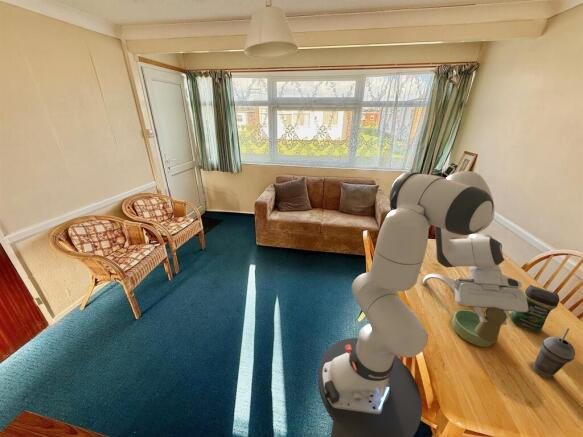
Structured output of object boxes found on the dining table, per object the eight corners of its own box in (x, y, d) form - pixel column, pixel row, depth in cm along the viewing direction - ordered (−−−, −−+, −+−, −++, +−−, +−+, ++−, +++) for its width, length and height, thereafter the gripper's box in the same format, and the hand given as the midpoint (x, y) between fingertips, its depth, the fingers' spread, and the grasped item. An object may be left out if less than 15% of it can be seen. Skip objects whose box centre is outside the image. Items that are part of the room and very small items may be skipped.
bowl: (468, 348, 88) (472, 339, 85) (443, 318, 100) (446, 310, 98) (502, 346, 89) (508, 337, 86) (473, 317, 101) (477, 308, 99)
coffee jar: (509, 323, 98) (528, 290, 90) (509, 312, 104) (527, 280, 96) (541, 336, 92) (564, 302, 85) (539, 324, 98) (560, 291, 90)
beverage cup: (535, 378, 78) (565, 338, 69) (522, 358, 84) (548, 319, 76) (562, 385, 76) (596, 344, 67) (547, 364, 82) (576, 325, 74)
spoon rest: (477, 294, 114) (482, 283, 111) (477, 309, 105) (483, 297, 102) (424, 277, 126) (427, 266, 123) (421, 289, 118) (424, 278, 115)
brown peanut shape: (471, 331, 79) (482, 307, 74) (480, 324, 81) (491, 301, 77) (491, 345, 74) (504, 321, 69) (500, 337, 76) (514, 313, 72)
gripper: (458, 275, 78) (464, 319, 73) (526, 282, 75) (537, 328, 70) (449, 277, 84) (453, 318, 79) (512, 284, 81) (520, 326, 76)
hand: (493, 323), depth 75 cm, fingers closed on brown peanut shape, 4 cm apart
